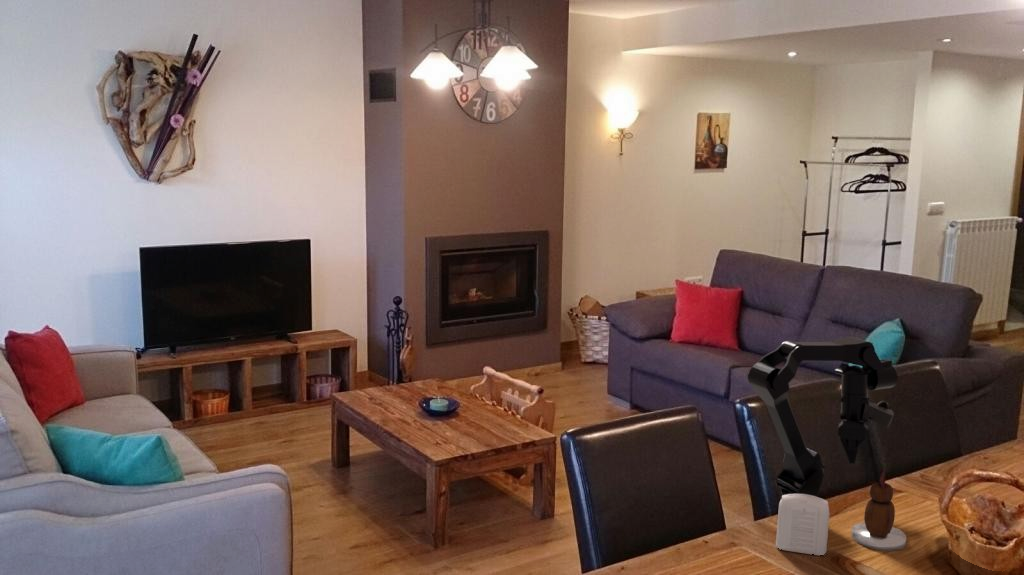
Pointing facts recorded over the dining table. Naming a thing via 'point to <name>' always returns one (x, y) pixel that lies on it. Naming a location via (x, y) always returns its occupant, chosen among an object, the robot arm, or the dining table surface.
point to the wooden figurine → (880, 508)
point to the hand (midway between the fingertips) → (852, 457)
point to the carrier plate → (879, 538)
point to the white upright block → (802, 524)
